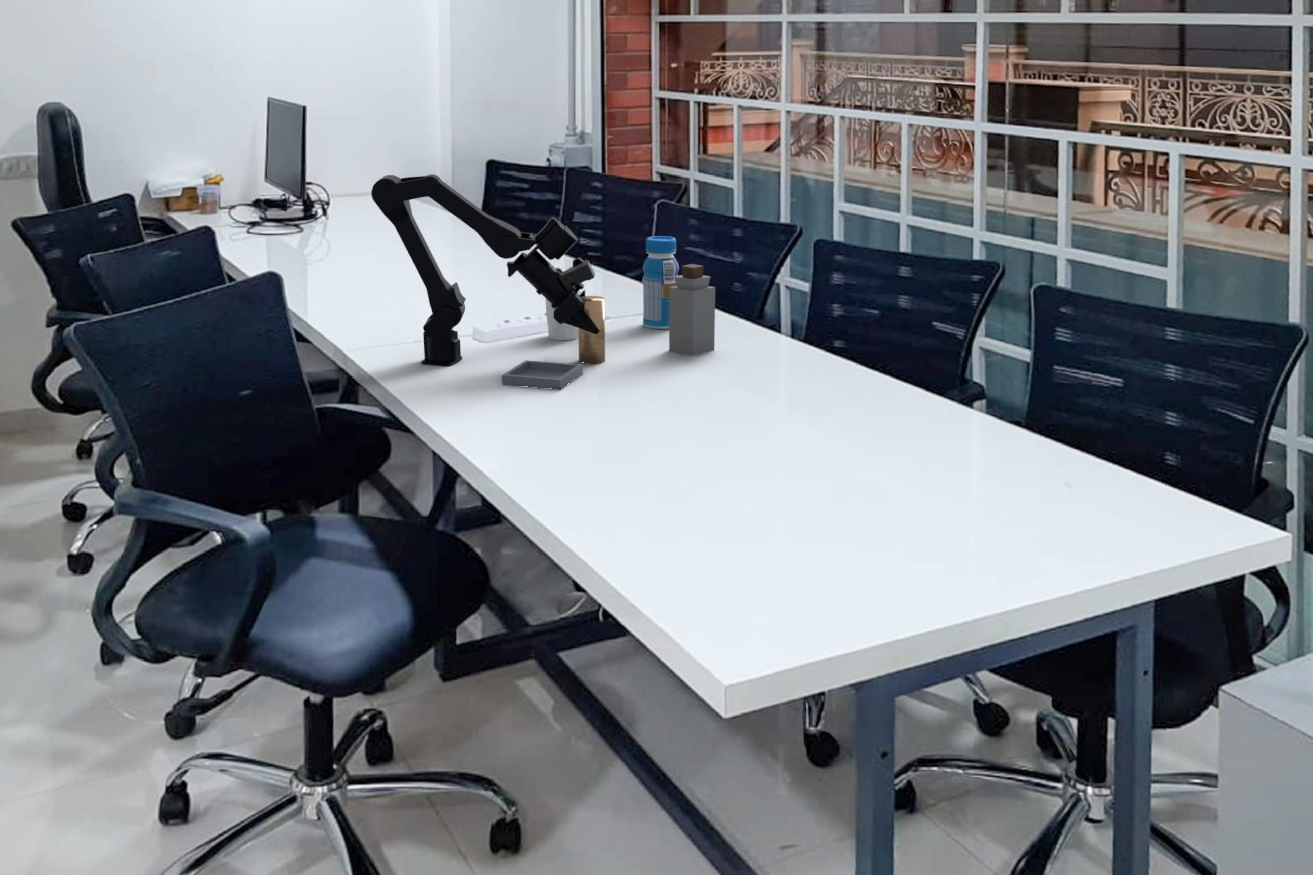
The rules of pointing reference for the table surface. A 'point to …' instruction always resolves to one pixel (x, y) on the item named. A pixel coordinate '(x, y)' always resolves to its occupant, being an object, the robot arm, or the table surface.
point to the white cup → (559, 326)
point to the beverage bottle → (658, 280)
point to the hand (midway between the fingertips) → (598, 329)
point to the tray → (542, 374)
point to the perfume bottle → (692, 312)
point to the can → (589, 342)
